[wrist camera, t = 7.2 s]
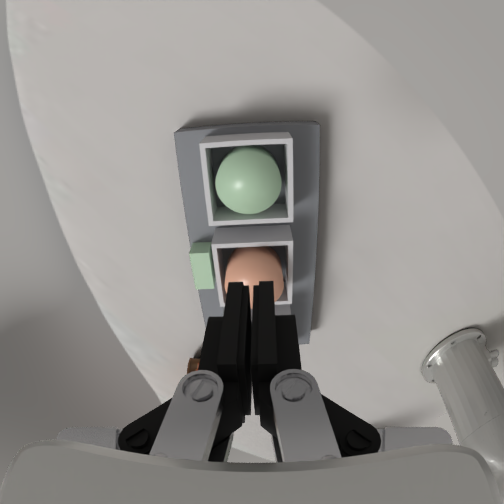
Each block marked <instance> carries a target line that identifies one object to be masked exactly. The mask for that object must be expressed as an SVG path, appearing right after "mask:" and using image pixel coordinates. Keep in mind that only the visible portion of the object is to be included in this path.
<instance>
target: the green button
mask: <svg viewBox="0 0 504 504" xmlns="http://www.w3.org/2000/svg"><path fill="white" fill-rule="evenodd" d="M281 183H282V182H281V176H280V172H279V168H278V164H277V162H276V160H275V158H274V156H273V155H272V154H271V153H270V152H269V151H268V150H266V149H265V148H263V147H261V146H258V145H245V146H237V147H235V148H233V149H231V150H230V151H229V152H228V153H227V154H226V155H225V156H224V158H223V160H222V162H221V164H220V167H219V169H218V172H217V175H216V181H215V186H216V191H217V194H218V196H219V198H220V200H221V201H222V202H223V203H224V204H225V205H226V206H227V207H228V208H230V209H231V210H233V211H235V212H238V213H242V214H255V213H259V212H262V211H264V210H266V209H268V208H269V207H270V206H271V205H273V203H274V202H275V201H276V200H277V198H278V196H279V194H280V191H281Z"/></svg>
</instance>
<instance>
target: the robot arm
mask: <svg viewBox="0 0 504 504" xmlns="http://www.w3.org/2000/svg"><path fill="white" fill-rule="evenodd" d="M485 346H486V337H485V335H484V334H483V332H482V331H481V330H479V329H475V328H473V329H465V330H462V331H459V332H457V333H455V334H453V335H451V336H450V337H448V338H446V339H445V340H444V341H442V342H441V343H440V344H438V345H437V346H436V347H435V348H434V349H433V350H432V351H431V352H430V353H429V355H428V356H427V358H426V359H425V361H424V363H423V365H422V375H423V377H424V379H425V380H426V381H427V382H429V383H436V384H437V387H438V389H439V392H440V394H441V396H442V399H443V401H444V404H445V406H446V409H447V411H448V414H449V417H450V419H451V422H452V424H453V427H454V430H455V432H456V435H457V438H458V441H459V444H460V446H459V445H452V439H451V436H450V435H449V433H448V432H447V431H446V430H444V429H442V428H438V427H385V429H376V428H374V427H373V426H372V425H370V424H369V423H367V422H365V421H364V420H362V419H360V418H359V417H357V416H355V415H354V414H352V413H350V412H349V411H347V410H346V409H344V408H342V407H341V406H339V405H338V404H336V403H334V402H333V401H331V400H330V399H328V398H327V397H325V396H323V395H322V394H321V393H320V390H319V387H318V384H317V382H316V380H315V378H314V377H313V376H312V375H311V374H310V373H308V372H306V371H303V370H301V361H300V352H299V343H298V334H297V326H296V318H295V315H275V302H274V282H273V281H259V285H253V307H252V318H251V305H250V291H249V285H244V283H243V282H228V288H227V295H226V302H225V309H224V315H223V316H217V317H209V318H208V321H207V326H206V331H205V336H204V341H203V346H202V351H201V357H200V362H199V367H198V370H197V371H192V372H190V373H188V374H186V375H185V376H184V377H183V378H182V379H181V380H180V382H179V383H178V386H177V388H176V391H175V393H174V395H173V398H171V399H170V400H168V401H166V402H165V403H163V404H162V405H160V406H159V407H157V408H155V409H154V410H152V411H150V412H149V413H147V414H145V415H144V416H142V417H140V418H139V419H137V420H135V421H134V422H132V423H130V424H129V425H127V426H126V427H125V428H123V429H118V428H117V427H71V428H66V429H64V430H62V431H61V432H60V433H59V434H58V436H57V438H56V440H44V441H38V442H33V443H30V444H27V445H25V446H24V447H22V448H21V449H20V450H19V451H18V453H17V454H16V455H15V457H14V458H13V460H12V462H11V464H10V466H9V468H8V470H7V472H6V475H5V477H4V480H3V482H2V485H1V488H0V504H504V388H503V386H502V384H501V382H500V380H499V378H498V377H497V375H496V373H495V371H494V369H493V367H496V366H497V365H498V358H497V357H498V355H499V351H498V350H497V349H496V350H492V351H490V352H489V351H488V350H487V348H486V347H485ZM252 387H253V397H254V408H255V415H260V423H261V426H262V427H263V428H264V429H265V430H267V431H268V432H269V433H270V434H271V439H272V444H273V449H274V455H275V460H276V463H229V462H227V460H228V456H229V452H230V448H231V445H232V441H233V436H234V431H236V430H237V429H238V428H240V427H241V426H242V423H245V415H251V391H252Z"/></svg>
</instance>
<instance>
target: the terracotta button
mask: <svg viewBox="0 0 504 504" xmlns="http://www.w3.org/2000/svg"><path fill="white" fill-rule="evenodd" d="M259 281H273V282H274V302H276V301H277V300H278V299H279V297H280V296H281V294H282V292H283V289H284V282H283V274H282V266H281V260H280V258H279V256H278V254H277V253H276V252H275V251H274V250H273V249H272V248H270V247H268V246H258V247H238V248H237V249H235V250H234V251H233V252H232V253H231V255H230V256H229V258H228V262H227V269H226V276H225V284H224V285H225V291H226V294H227V288H228V282H243V283H244V285H249V291H250V305H251V309H252V307H253V285H259Z"/></svg>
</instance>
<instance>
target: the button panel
mask: <svg viewBox="0 0 504 504" xmlns="http://www.w3.org/2000/svg"><path fill="white" fill-rule="evenodd" d="M174 138H175V146H176V154H177V162H178V169H179V177H180V184H181V191H182V197H183V204H184V211H185V217H186V223H187V229H188V236H189V242H190V247H191V250H190V253H189V256H190V261H191V267H192V272H193V277H194V283H195V288H196V289H198V291H199V297H200V302H201V307H202V312H203V317H204V322H205V327H206V326H207V321H208V318H209V317H217V316H223V315H224V309H225V302H226V295H227V294H226V291H225V285H224V284H225V276H226V269H227V262H228V258H229V256H230V255H231V253H232V252H233V251H234V250H235V249H237V248H238V247H258V246H268V247H270V248H272V249H273V250H274V251H275V252H276V253H277V254H278V256H279V258H280V260H281V266H282V274H283V282H284V289H283V292H282V294H281V296H280V297H279V299H278V300H277V301H276V302H275V315H295V318H296V326H297V334H298V343H299V344H309V341H310V330H311V319H312V308H313V295H314V281H315V266H316V250H317V230H318V205H319V166H320V124H318V123H317V122H315V121H296V122H260V123H241V124H226V125H214V126H203V127H193V128H184V129H178V130H177V131H176V132H174ZM245 145H258V146H261V147H263V148H265V149H266V150H268V151H269V152H270V153H271V154H272V155H273V156H274V158H275V160H276V162H277V164H278V168H279V172H280V176H281V182H282V183H281V191H280V194H279V196H278V198H277V200H276V201H275V202H274V203H273V205H271V206H270V207H269V208H268V209H266V210H264V211H262V212H259V213H255V214H242V213H238V212H235V211H233V210H231V209H230V208H228V207H227V206H226V205H225V204H224V203H223V202H222V201H221V200H220V198H219V196H218V194H217V191H216V186H215V181H216V175H217V172H218V169H219V167H220V164H221V162H222V160H223V158H224V156H225V155H226V154H227V153H228V152H229V151H230V150H231V149H233V148H235V147H237V146H245ZM251 318H252V309H251Z"/></svg>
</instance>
